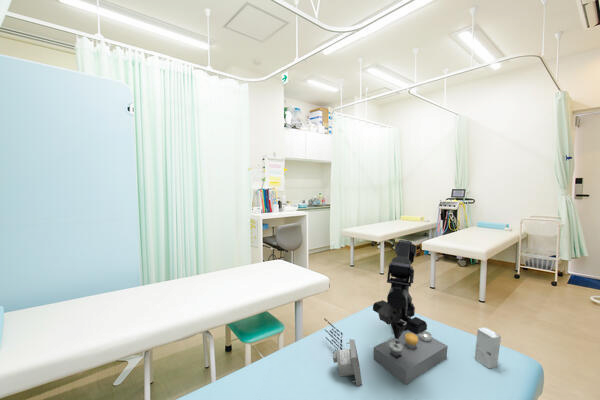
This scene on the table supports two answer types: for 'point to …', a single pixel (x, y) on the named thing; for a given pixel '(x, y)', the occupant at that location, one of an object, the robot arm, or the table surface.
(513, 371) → the table surface
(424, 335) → the far button
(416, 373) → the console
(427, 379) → the table surface
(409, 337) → the middle button
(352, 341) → the grey ridged piece
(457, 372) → the table surface
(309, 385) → the table surface
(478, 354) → the skincare box
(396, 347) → the near button
